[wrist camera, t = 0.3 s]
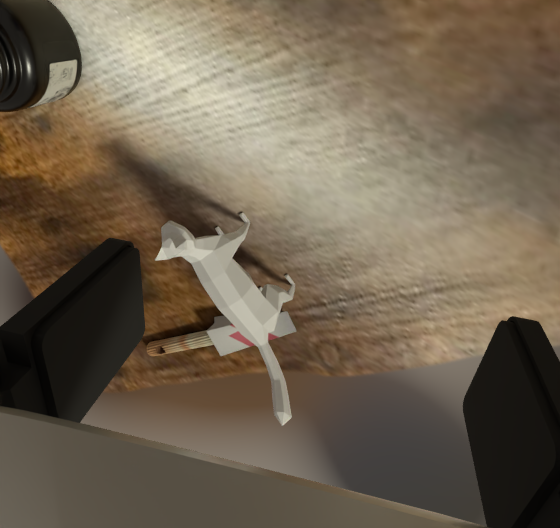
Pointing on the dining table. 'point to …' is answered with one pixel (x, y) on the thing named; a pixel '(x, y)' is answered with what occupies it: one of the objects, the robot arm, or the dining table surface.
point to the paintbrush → (217, 337)
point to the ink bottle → (35, 55)
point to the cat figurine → (235, 293)
